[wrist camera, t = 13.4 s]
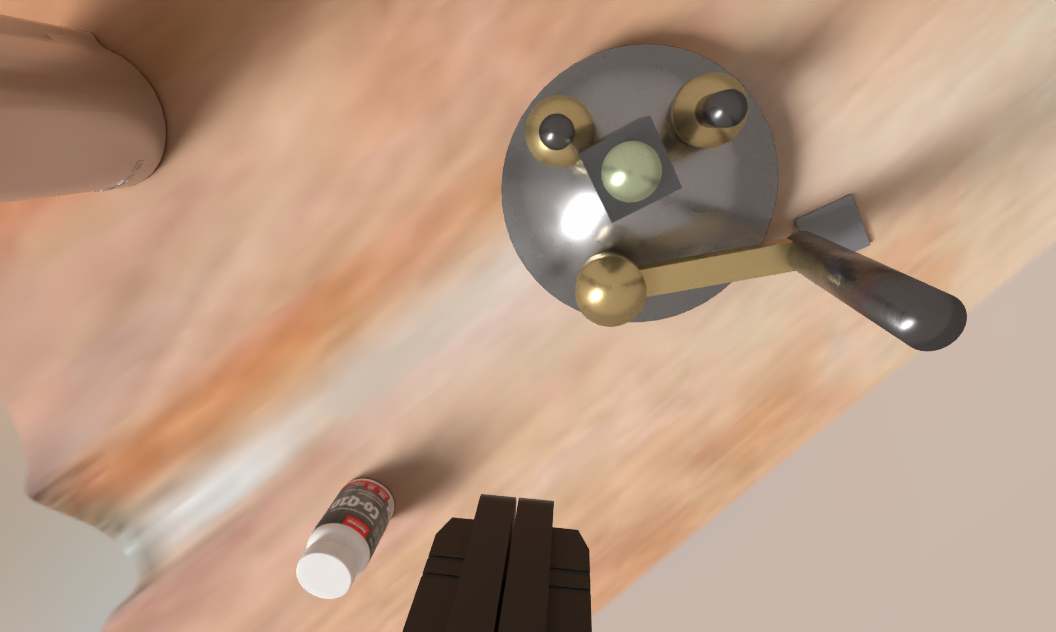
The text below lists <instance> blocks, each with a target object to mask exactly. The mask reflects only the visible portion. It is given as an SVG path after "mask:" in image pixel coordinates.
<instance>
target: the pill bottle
mask: <svg viewBox="0 0 1056 632" xmlns="http://www.w3.org/2000/svg"><path fill="white" fill-rule="evenodd" d="M393 512H394V500H393V497H392V495H391V493H390V492H389V491H388V489H387V488H386V487H384V486H383V485H382V484H380V483H378V482H376V481H374V480H371V479H364V478H363V479H356V480H353V481H351V482H349V483H347V484H346V485H345V486H344V487H343V488H342V490H341V491H340V492H339V494H338V495H337V497H336V498H335V500H334V501H333V503H332V504H331V506H330V507H329V509H328V510H327V512H326V513H325V515H324V516H323V517H322V519H321V520H320V522H319V523H318V525H317V526H316V527H315V529H314V531H313V532H312V534H311V536H310V537H309V540H308V542H307V549H306V550H305V552H304V554H303V556H302V557H301V559H300V561H299V562H298V565H297V569H296V573H297V578H298V580H299V582H300V584H301V585H302V586H303V588H304V589H306V590H307V591H308V592H309V593H311V594H313V595H315V596H317V597H320V598H325V599H333V598H338V597H340V596H342V595H344V594H345V593H346V592H347V591H348V590H349V589H350V587H351V585H352V583H353V582H354V580H355V578H356V576H357V575H359V574H360V573H361V572H362V571H363V570H364V569H365V568H366V566H367V565H368V563H369V561H370V559H371V557H372V555H373V553H374V551H375V549H376V547H377V545H378V543H379V541H380V539H381V537H382V535H383V533H384V531H385V529H386V527H387V525H388V523H389V521H390V519H391V517H392V515H393Z"/></svg>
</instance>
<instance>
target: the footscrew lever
mask: <svg viewBox="0 0 1056 632" xmlns="http://www.w3.org/2000/svg"><path fill="white" fill-rule="evenodd" d="M791 271H797V272H799V273H800V274H802V275H803V276H805V277H806V278H808V279H809V280H811V281H812V282H814V283H815V284H817V285H818V286H820V287H821V288H823V289H824V290H826V291H827V292H829V293H830V294H832V295H833V296H835V297H836V298H838V299H839V300H841V301H842V302H844V303H845V304H847V305H848V306H850V307H851V308H853V309H854V310H856V311H858V312H859V313H861V314H862V315H864V316H865V317H867V318H868V319H870V320H871V321H873V322H874V323H876V324H877V325H879V326H880V327H882V328H883V329H885V330H886V331H888V332H889V333H891V334H892V335H894V336H895V337H897V338H898V339H900V340H901V341H903V342H904V343H906V344H907V345H909V346H910V347H912V348H914V349H917V350H920V351H934V350H939V349H942V348H944V347H946V346H948V345H950V344H951V343H952V342H954V341H955V340H956V339H957V338H958V337H959V336H960V334H961V333H962V332H963V330H964V327H965V325H966V320H967V313H966V309H965V307H964V305H963V303H962V302H961V301H960V300H959V299H958V298H956V297H955V296H953V295H950V294H948V293H946V292H944V291H941V290H939V289H937V288H935V287H932V286H930V285H928V284H926V283H924V282H921V281H919V280H917V279H915V278H912V277H910V276H908V275H906V274H904V273H901V272H899V271H897V270H895V269H892V268H890V267H888V266H886V265H883V264H881V263H879V262H877V261H875V260H872V259H870V258H868V257H866V256H863V255H861V254H859V253H857V252H854V251H852V250H850V249H848V248H846V247H843V246H841V245H839V244H837V243H834V242H832V241H830V240H828V239H825V238H823V237H821V236H819V235H817V234H814V233H812V232H809V231H798V232H795V233H793V234H791V235H790V236H789V237H788V238H786V239H780V240H775V241H770V242H764V243H759V244H753V245H748V246H743V247H737V248H732V249H726V250H721V251H716V252H710V253H705V254H700V255H694V256H689V257H683V258H678V259H673V260H667V261H662V262H657V263H651V264H646V265H640V266H638V265H637V264H636V263H635V262H634V261H633V260H632V259H631V258H629V257H628V256H626V255H624V254H621V253H618V252H603V253H599V254H597V255H594V256H593V257H591V258H590V259H588V260H587V261H586V262H585V263H584V264H583V265H582V267H581V268H580V270H579V272H578V274H577V278H576V289H575V296H576V302H577V305H578V307H579V309H580V311H581V312H582V313H583V315H584V316H585V317H586V318H587V319H589V320H590V321H592V322H594V323H596V324H598V325H601V326H607V327H613V326H619V325H623V324H625V323H627V322H629V321H631V320H632V319H634V318H635V317H636V316H637V315H638V314H639V313H640V311H641V310H642V308H643V306H644V304H645V301H646V297H650V296H656V295H661V294H667V293H672V292H678V291H684V290H689V289H695V288H701V287H706V286H712V285H718V284H723V283H729V282H735V281H740V280H746V279H751V278H757V277H763V276H768V275H774V274H780V273H785V272H791Z"/></svg>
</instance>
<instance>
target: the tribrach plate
mask: <svg viewBox="0 0 1056 632" xmlns="http://www.w3.org/2000/svg"><path fill="white" fill-rule="evenodd" d="M777 187H778V162H777V156H776V150H775V144H774V141H773V138H772V135H771V131H770V128H769V126H768V123H767V121H766V119H765V117H764V115H763V113H762V111H761V109H760V107H759V106H758V104H757V103H756V101H755V100H754V99H753V97H752V96H751V94H750V93H749V92H748V91H747V90H746V88H745V87H744V86H743V85H742V84H741V83H740V82H739V81H738V80H737V79H736V78H735V77H734V76H732V75H731V74H730V73H729V72H728V71H726V70H725V69H724V68H723V67H721V66H719V65H718V64H716V63H714V62H712V61H711V60H709V59H707V58H706V57H703V56H701V55H698V54H696V53H693V52H691V51H688V50H684V49H680V48H676V47H672V46H665V45H655V44H640V45H628V46H623V47H617V48H612V49H609V50H606V51H603V52H600V53H597V54H594V55H592V56H590V57H588V58H586V59H583V60H581V61H579V62H577V63H575V64H574V65H572V66H571V67H569V68H568V69H566V70H565V71H563V72H562V73H561V74H559V75H558V76H557V77H556V78H555V79H553V80H552V81H551V82H550V83H549V84H548V85H547V86H545V87H544V89H543V90H542V91H541V92H540V93H539V94H538V95H537V97H536V98H535V99H534V100H533V101H532V102H531V104H530V105H529V107H528V108H527V110H526V111H525V113H524V114H523V116H522V117H521V119H520V121H519V123H518V125H517V127H516V129H515V131H514V133H513V136H512V138H511V141H510V144H509V147H508V150H507V153H506V158H505V163H504V167H503V176H502V207H503V212H504V218H505V223H506V226H507V230H508V233H509V236H510V239H511V241H512V244H513V246H514V248H515V250H516V252H517V254H518V256H519V258H520V259H521V261H522V262H523V264H524V266H525V267H526V269H527V270H528V271H529V272H530V274H531V275H532V276H533V277H534V278H535V280H536V281H537V282H538V283H539V284H540V285H541V286H542V287H543V288H545V289H546V290H547V291H548V292H549V293H550V294H552V295H553V296H554V297H556V298H557V299H558V300H560V301H561V302H563V303H565V304H566V305H568V306H570V307H572V308H574V309H576V310H578V311H580V309H579V307H578V305H577V302H576V296H575V289H576V278H577V274H578V272H579V270H580V268H581V267H582V265H583V264H584V263H585V262H586V261H587V260H588V259H590V258H591V257H593V256H594V255H597V254H599V253H603V252H618V253H621V254H624V255H626V256H628V257H629V258H631V259H632V260H633V261H634V262H635V263H636V264H637V265H638V266H640V265H646V264H651V263H657V262H662V261H667V260H673V259H678V258H683V257H689V256H694V255H700V254H705V253H710V252H716V251H721V250H726V249H732V248H737V247H743V246H748V245H753V244H759V243H762V241H763V239H764V237H765V235H766V232H767V230H768V227H769V224H770V222H771V219H772V215H773V211H774V207H775V203H776V197H777ZM730 283H731V282H729V283H723V284H718V285H712V286H706V287H701V288H695V289H689V290H684V291H678V292H672V293H667V294H661V295H656V296H650V297H646V301H645V304H644V306H643V308H642V310H641V311H640V313H639V314H638V315H637V316H636V317H635V318H634V319H632V320H631V321H629V322H646V321H654V320H660V319H664V318H668V317H672V316H676V315H678V314H681V313H684V312H686V311H689V310H691V309H693V308H695V307H697V306H699V305H701V304H703V303H705V302H707V301H708V300H709V299H711V298H712V297H714V296H715V295H717V294H718V293H720V292H721V291H722V290H723V289H724V288H726V287H727V286H728V285H729V284H730ZM580 312H581V311H580Z"/></svg>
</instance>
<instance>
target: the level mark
mask: <svg viewBox="0 0 1056 632" xmlns="http://www.w3.org/2000/svg"><path fill="white" fill-rule="evenodd" d="M795 223H796V225H797V228H798V230H799V231H809V232H812V233H814V234H817V235H819V236H821V237H823V238H825V239H828V240H830V241H832V242H834V243H837V244H839V245H841V246H843V247H846V248H848V249H850V250H852V251H854V252H855V251H857V250H860V249H862V248H864V247H866V246H869V245H870V242H869V239H868V237H867V234H866V231H865V229H864V226H863V223H862V220H861V218H860V215H859V212H858V210H857V207H856V204H855V201H854V199H853V196H852V194H849V195H847V196H845V197H843V198H840V199H838V200H836V201H834V202H832V203H830V204H828V205H825V206H823V207H821V208H819V209H817V210H815V211H813V212H810V213H808V214H806V215H804V216H802V217H800V218H797V219H795Z"/></svg>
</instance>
